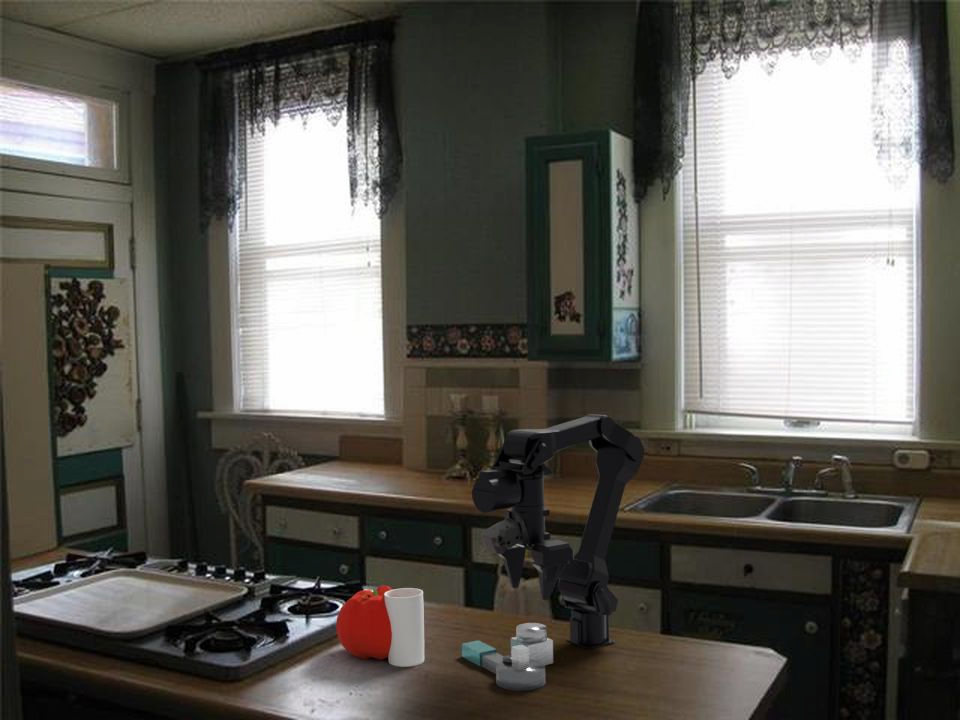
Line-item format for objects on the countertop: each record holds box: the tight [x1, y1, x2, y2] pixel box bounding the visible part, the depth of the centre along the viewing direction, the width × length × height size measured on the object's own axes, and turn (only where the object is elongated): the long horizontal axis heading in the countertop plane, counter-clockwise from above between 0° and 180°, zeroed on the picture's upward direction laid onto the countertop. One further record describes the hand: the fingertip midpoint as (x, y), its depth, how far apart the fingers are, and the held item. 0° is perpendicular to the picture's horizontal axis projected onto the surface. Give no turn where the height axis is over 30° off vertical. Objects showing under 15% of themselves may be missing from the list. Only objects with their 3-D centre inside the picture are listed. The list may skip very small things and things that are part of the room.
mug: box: [384, 587, 425, 668], centre depth 176 cm, size 10×7×12 cm, turn 157°
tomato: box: [335, 585, 393, 661], centre depth 179 cm, size 13×14×12 cm
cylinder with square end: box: [510, 622, 554, 666], centre depth 174 cm, size 5×5×6 cm
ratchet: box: [461, 639, 546, 692], centre depth 169 cm, size 20×8×6 cm, turn 31°
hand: (530, 593), depth 173 cm, fingers open, 9 cm apart
